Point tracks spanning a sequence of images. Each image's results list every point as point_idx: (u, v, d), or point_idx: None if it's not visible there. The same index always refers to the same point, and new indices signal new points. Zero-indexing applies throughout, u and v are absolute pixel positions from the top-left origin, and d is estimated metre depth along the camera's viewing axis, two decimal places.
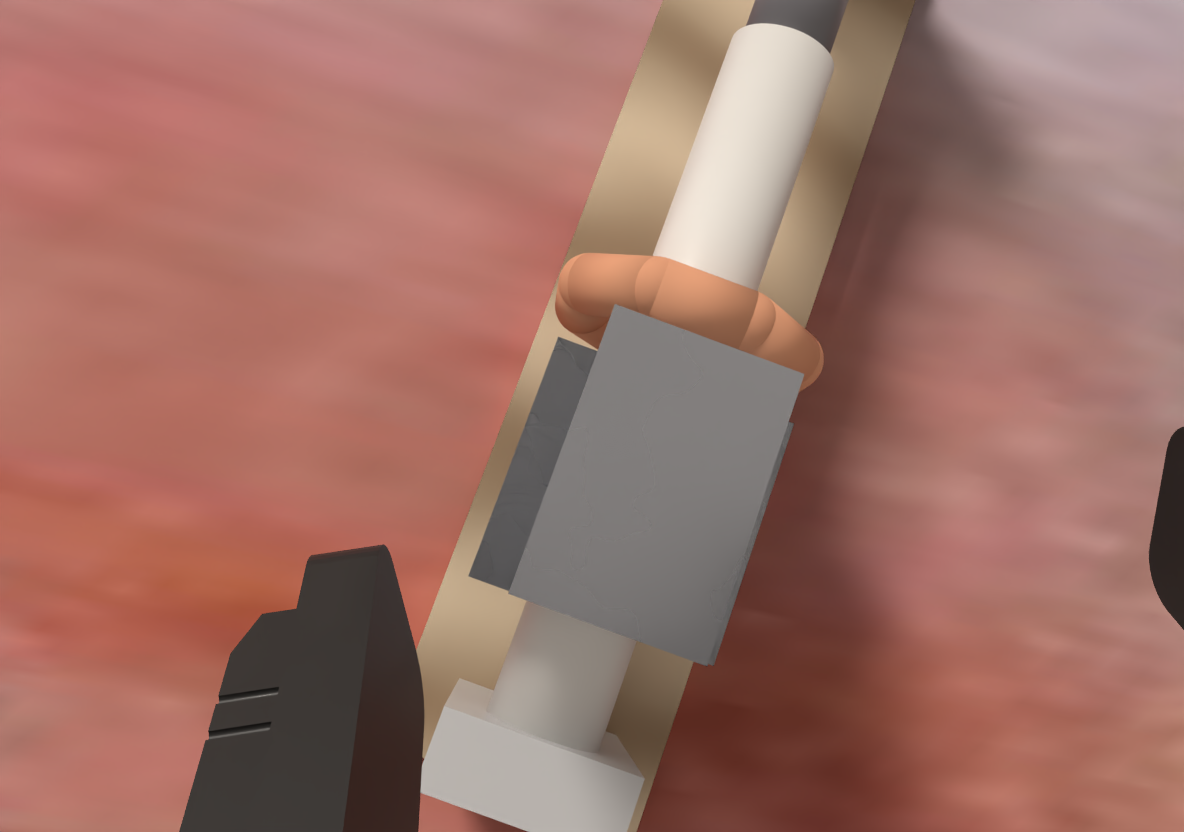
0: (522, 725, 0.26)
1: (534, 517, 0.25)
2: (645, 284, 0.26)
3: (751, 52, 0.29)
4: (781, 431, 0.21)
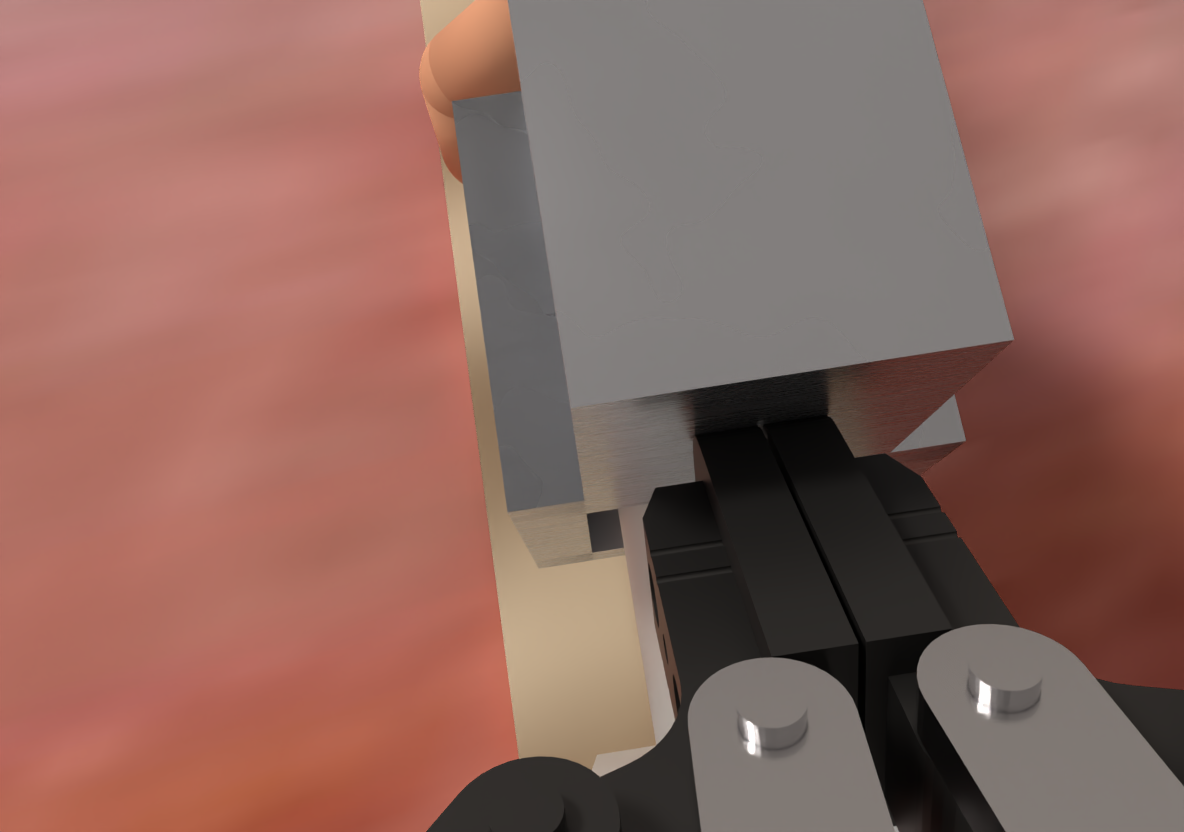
0: None
1: (561, 370, 0.14)
2: None
3: None
4: None
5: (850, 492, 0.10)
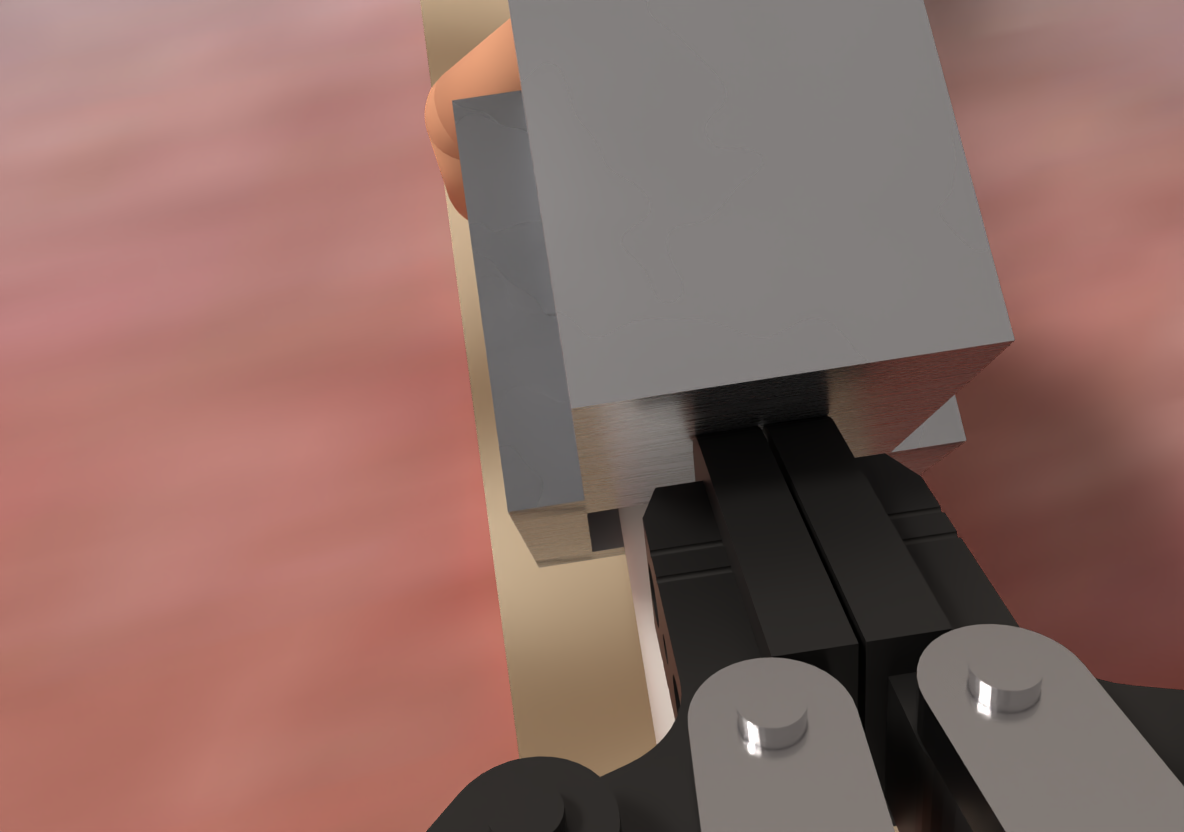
0: None
1: (561, 370, 0.14)
2: None
3: None
4: None
5: (850, 492, 0.10)
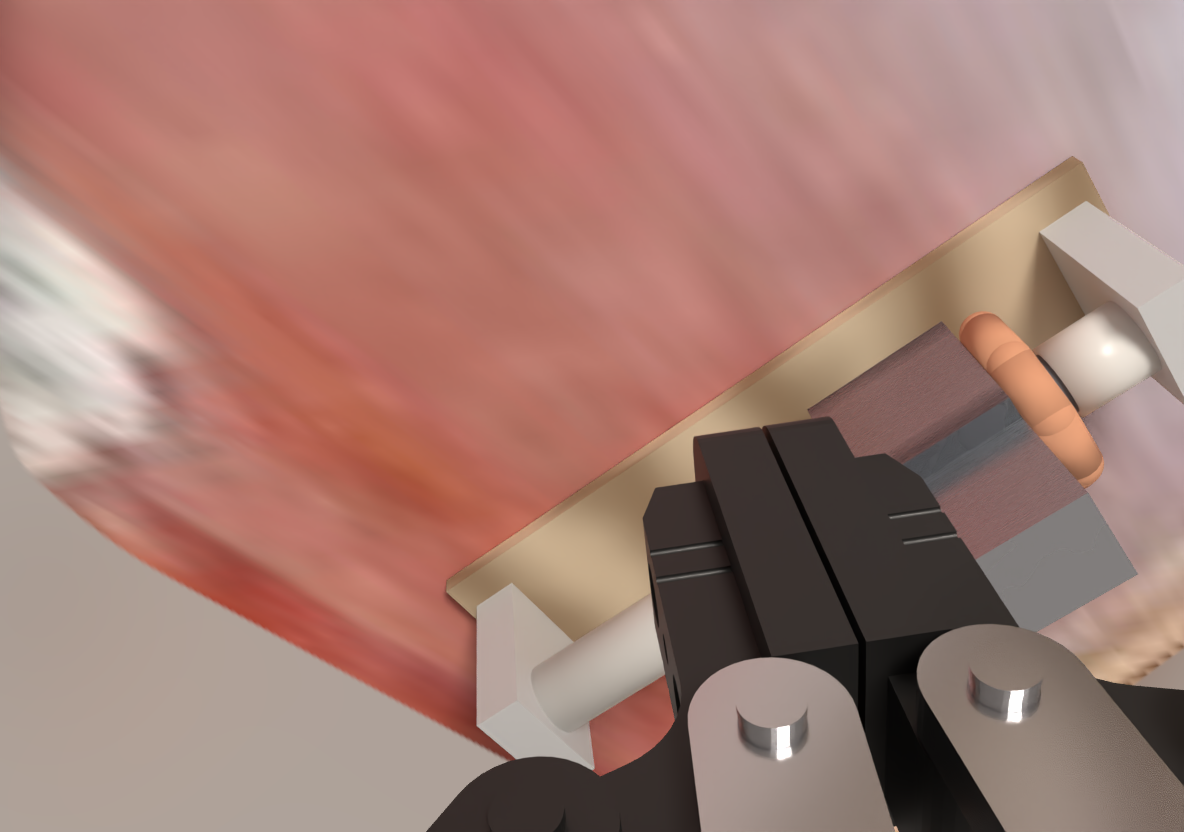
0: (549, 714, 0.43)
1: None
2: (1050, 423, 0.36)
3: None
4: (1100, 592, 0.34)
5: (850, 492, 0.10)
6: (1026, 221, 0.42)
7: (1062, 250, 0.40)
